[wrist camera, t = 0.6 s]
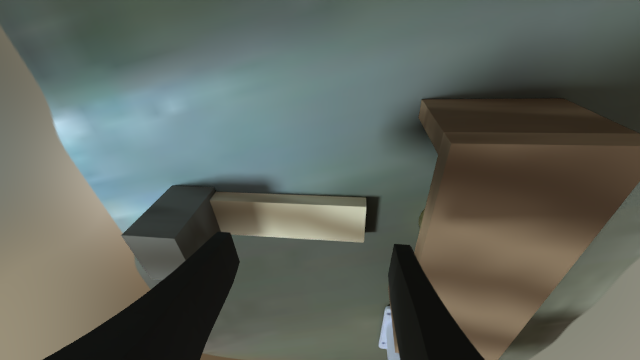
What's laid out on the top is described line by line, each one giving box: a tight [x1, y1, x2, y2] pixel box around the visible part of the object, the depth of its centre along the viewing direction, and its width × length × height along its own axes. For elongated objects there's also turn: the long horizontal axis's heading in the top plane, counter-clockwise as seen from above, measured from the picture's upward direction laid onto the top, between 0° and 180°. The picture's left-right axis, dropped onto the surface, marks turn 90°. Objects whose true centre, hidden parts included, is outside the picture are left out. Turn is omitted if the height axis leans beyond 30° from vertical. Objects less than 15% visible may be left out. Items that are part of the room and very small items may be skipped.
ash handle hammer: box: [122, 186, 366, 280], centre depth 21 cm, size 5×17×6 cm, turn 92°
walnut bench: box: [388, 98, 640, 360], centre depth 19 cm, size 20×8×6 cm, turn 2°
